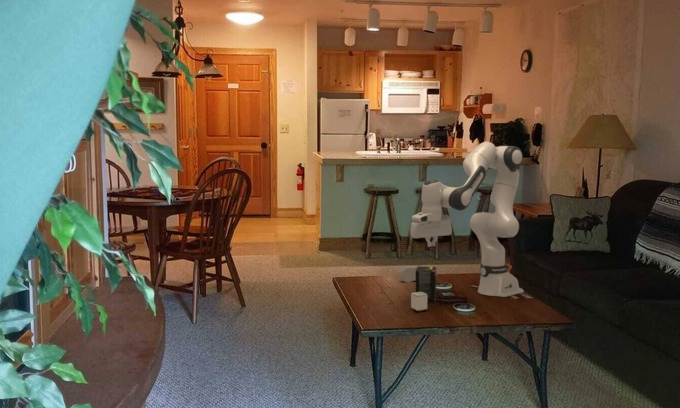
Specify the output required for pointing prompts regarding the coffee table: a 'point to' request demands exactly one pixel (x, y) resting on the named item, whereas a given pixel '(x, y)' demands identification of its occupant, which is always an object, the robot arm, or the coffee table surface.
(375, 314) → the coffee table surface
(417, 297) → the white block
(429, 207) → the robot arm
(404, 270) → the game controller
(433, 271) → the tampon box
